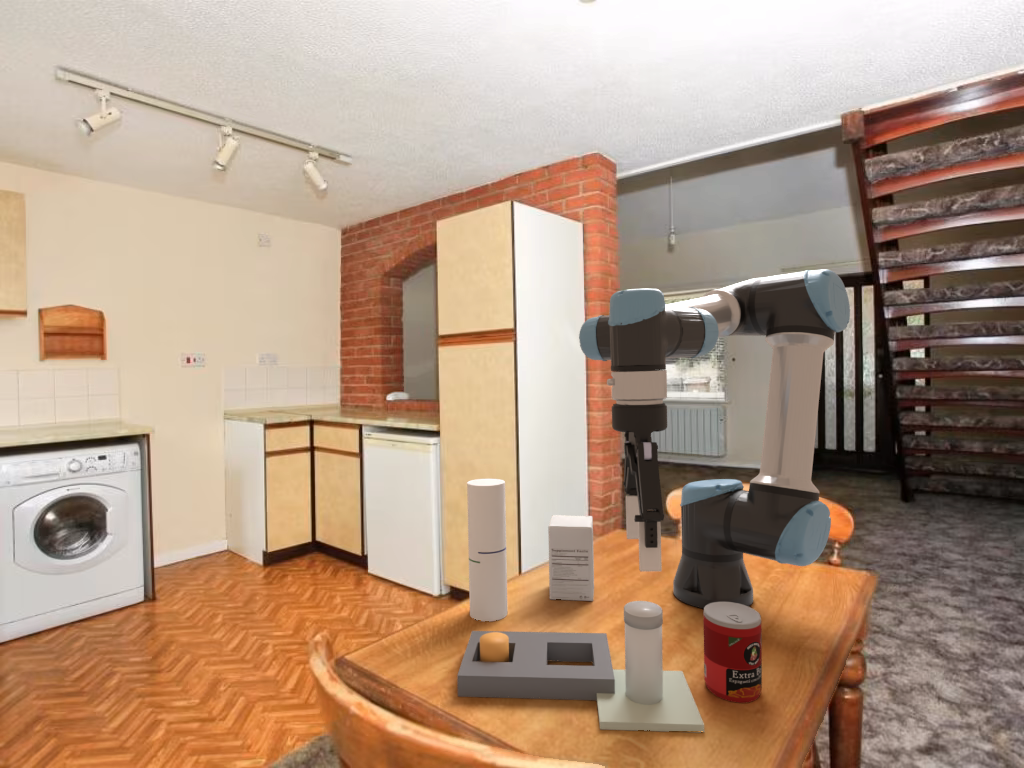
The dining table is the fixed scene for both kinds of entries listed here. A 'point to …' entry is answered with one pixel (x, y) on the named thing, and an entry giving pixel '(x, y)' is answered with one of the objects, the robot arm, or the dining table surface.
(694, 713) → the mat
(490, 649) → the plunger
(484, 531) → the cylindrical container
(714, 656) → the canned food
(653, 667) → the cartridge
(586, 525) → the supplement box
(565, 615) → the dining table surface
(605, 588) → the dining table surface
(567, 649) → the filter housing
